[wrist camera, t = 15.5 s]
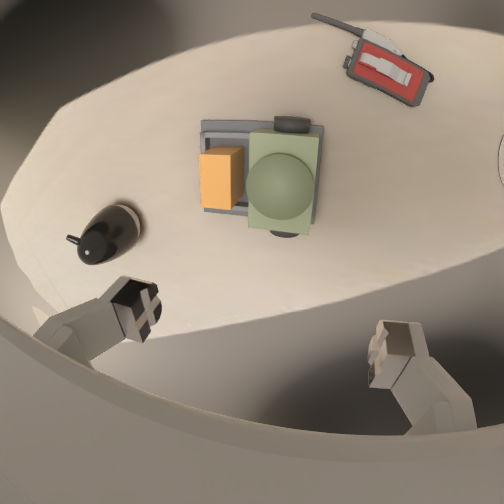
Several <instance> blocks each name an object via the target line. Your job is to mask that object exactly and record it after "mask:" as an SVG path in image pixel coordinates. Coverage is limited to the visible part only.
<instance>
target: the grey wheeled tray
mask: <svg viewBox="0 0 504 504" xmlns="http://www.w3.org/2000/svg"><path fill="white" fill-rule="evenodd" d="M309 122H310V119H307V118H300V117H287V116H276V117H274V122H269V121H246V120H202V121H201V132H200V150H201V153H203V152H205V151H207V150H209V149H211V148H213V147H215V146H243V147H244V194H243V196H242V197H241V198H240V199H239V201H238V202H237V203H236V204H235V205H234V207H233V208H232V209H231V210H224V209H214V208H204V212H213V213H222V214H231V215H241V216H248V227H250V228H258V229H266V230H270V232H271V233H272V234H273V235H276V236H278V237H284V238H290V237H295V236H297V235H299V234H304V235H309V232H310V224H314V217H315V209H316V200H317V191H318V181H319V171H320V161H321V149H322V137H323V126H317V125H309Z"/></svg>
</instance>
